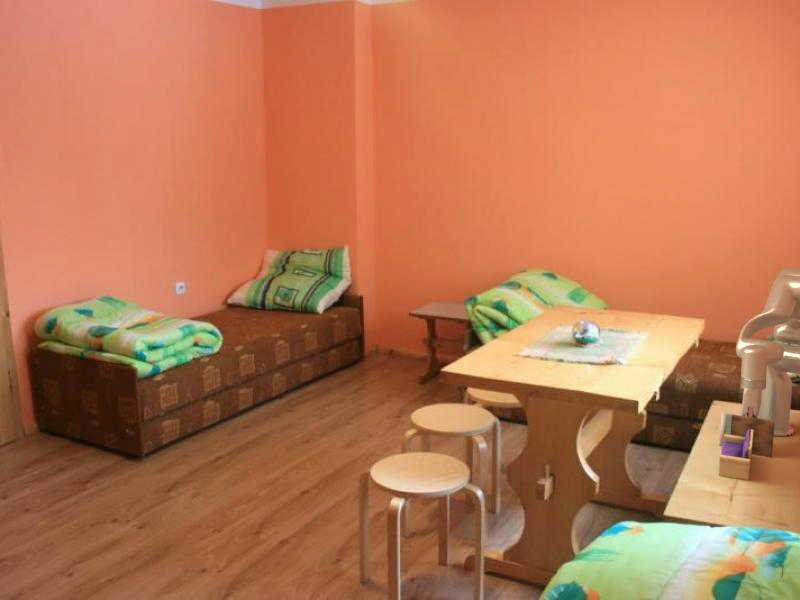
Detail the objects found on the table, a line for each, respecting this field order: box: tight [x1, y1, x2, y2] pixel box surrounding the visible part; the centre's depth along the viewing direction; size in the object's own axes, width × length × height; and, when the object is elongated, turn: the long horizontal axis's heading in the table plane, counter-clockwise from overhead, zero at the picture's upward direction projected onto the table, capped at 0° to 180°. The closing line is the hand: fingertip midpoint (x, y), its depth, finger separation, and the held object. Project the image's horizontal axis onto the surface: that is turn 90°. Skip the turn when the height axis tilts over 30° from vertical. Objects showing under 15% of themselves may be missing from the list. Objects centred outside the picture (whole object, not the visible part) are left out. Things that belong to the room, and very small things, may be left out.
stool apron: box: [731, 414, 775, 458], centre depth 233 cm, size 12×2×12 cm, turn 60°
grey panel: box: [719, 412, 741, 447], centre depth 237 cm, size 2×15×11 cm, turn 55°
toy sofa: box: [718, 429, 754, 481], centre depth 224 cm, size 21×9×10 cm, turn 152°
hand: (751, 434), depth 240 cm, fingers closed
